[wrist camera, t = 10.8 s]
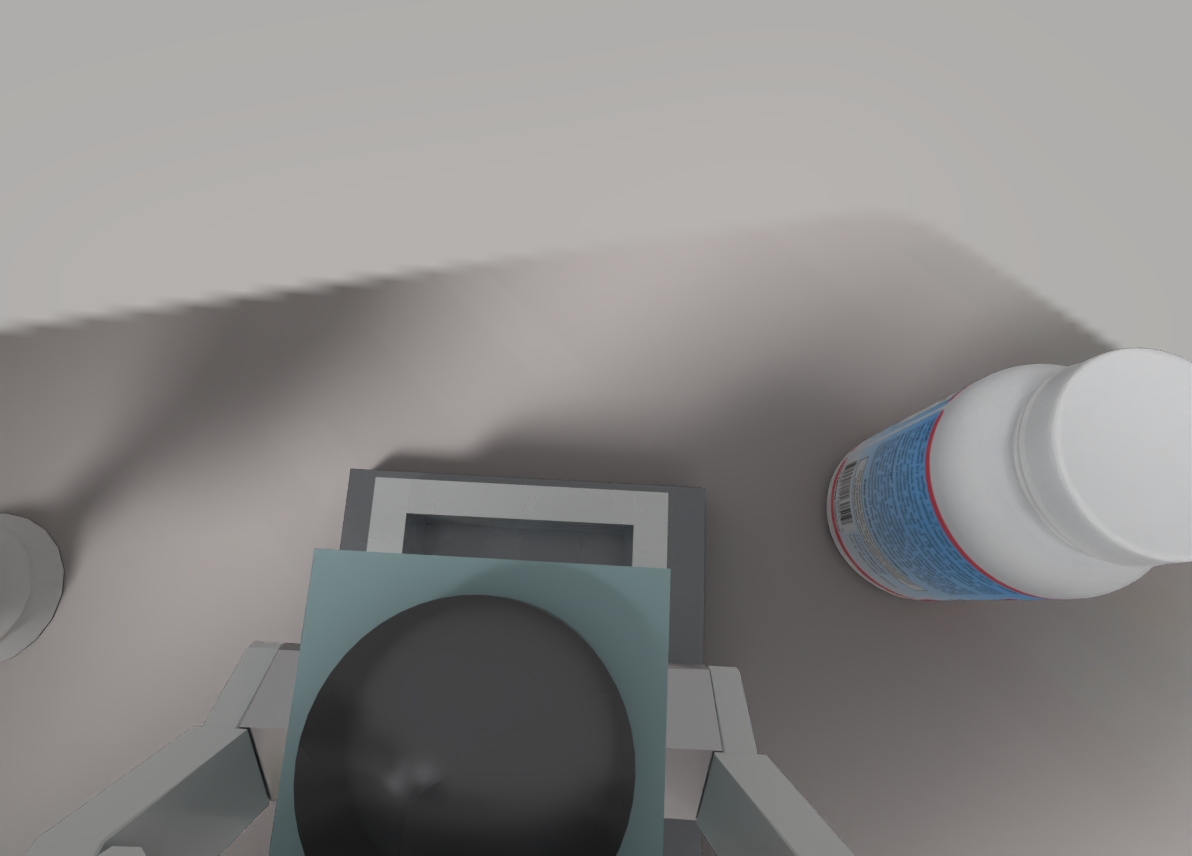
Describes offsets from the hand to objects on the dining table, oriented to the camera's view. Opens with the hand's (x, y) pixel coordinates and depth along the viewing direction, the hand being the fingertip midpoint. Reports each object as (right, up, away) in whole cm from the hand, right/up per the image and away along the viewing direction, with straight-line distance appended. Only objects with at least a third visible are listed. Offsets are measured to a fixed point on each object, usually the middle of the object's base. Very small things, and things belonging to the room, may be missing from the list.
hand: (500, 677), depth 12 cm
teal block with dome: (0, -2, +4) cm, 4 cm away
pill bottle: (+13, +1, +14) cm, 19 cm away
